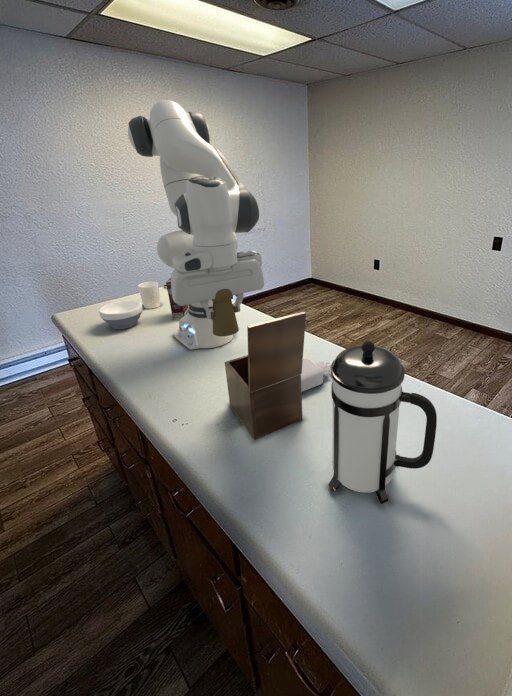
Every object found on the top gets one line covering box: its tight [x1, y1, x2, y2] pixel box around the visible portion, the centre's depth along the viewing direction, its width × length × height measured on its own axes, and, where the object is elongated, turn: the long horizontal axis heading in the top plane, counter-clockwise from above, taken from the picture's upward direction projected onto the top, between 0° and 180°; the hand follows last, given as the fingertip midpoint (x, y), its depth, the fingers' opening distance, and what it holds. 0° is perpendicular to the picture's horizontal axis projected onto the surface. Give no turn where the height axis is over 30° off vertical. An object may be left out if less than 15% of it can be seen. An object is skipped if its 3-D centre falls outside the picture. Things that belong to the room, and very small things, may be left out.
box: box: [224, 354, 303, 441], centre depth 88 cm, size 16×13×13 cm
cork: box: [212, 289, 240, 336], centre depth 83 cm, size 6×6×11 cm
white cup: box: [137, 281, 162, 310], centre depth 156 cm, size 8×8×10 cm
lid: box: [246, 311, 307, 392], centre depth 75 cm, size 16×13×1 cm
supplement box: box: [165, 277, 189, 321], centre depth 145 cm, size 9×5×16 cm, turn 6°
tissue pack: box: [301, 358, 331, 393], centre depth 103 cm, size 5×9×15 cm
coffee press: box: [323, 340, 438, 505], centre depth 66 cm, size 17×16×30 cm
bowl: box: [98, 299, 144, 330], centre depth 138 cm, size 14×14×8 cm
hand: (223, 314), depth 83 cm, fingers closed on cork, 4 cm apart
